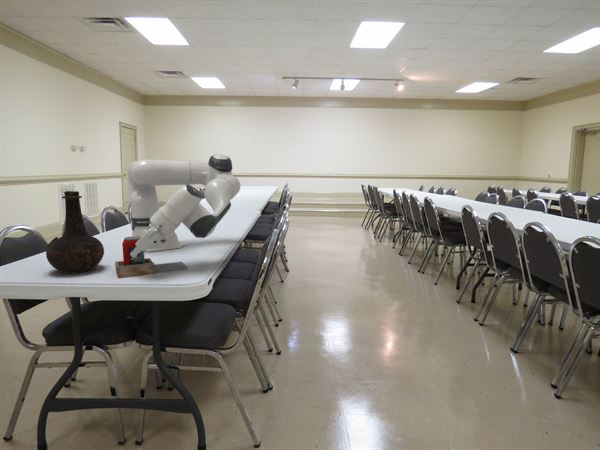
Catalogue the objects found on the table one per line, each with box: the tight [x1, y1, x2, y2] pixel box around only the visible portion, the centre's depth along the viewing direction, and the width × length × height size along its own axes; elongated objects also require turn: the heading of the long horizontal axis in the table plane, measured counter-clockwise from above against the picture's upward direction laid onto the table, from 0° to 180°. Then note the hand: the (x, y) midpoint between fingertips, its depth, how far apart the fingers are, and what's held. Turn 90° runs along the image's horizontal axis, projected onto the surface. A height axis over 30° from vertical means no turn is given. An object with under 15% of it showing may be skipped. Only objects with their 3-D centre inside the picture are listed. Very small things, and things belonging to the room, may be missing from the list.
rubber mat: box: [154, 261, 189, 273], centre depth 146 cm, size 10×10×1 cm
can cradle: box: [114, 257, 156, 278], centre depth 140 cm, size 12×12×4 cm
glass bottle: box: [45, 190, 105, 274], centre depth 141 cm, size 18×18×28 cm
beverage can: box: [122, 236, 146, 266], centre depth 140 cm, size 7×7×12 cm
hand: (135, 252), depth 139 cm, fingers open, 8 cm apart
